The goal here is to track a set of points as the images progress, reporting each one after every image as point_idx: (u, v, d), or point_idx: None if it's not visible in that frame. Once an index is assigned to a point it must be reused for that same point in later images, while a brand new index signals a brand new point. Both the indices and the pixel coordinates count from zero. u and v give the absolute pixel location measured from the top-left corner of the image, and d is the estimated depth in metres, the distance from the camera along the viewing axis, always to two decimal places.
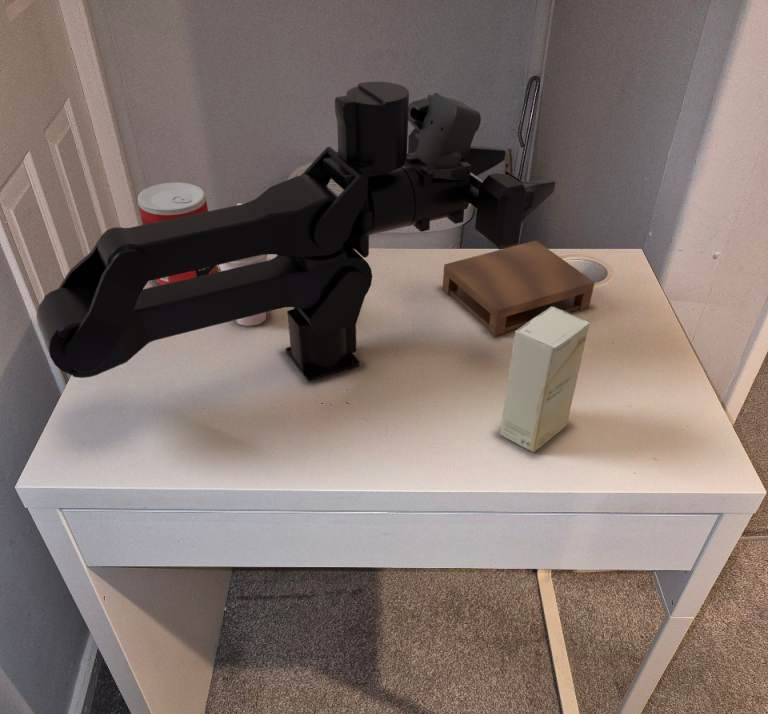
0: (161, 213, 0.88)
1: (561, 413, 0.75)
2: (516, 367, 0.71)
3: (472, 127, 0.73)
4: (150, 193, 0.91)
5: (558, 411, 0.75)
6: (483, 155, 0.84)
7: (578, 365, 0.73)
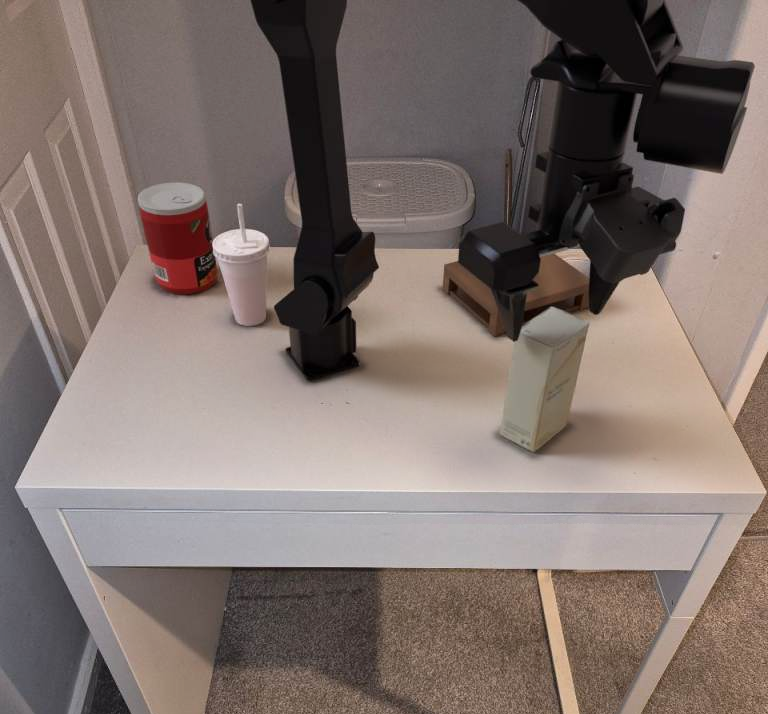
0: (161, 213, 0.88)
1: (561, 413, 0.75)
2: (516, 367, 0.71)
3: (601, 266, 0.58)
4: (150, 193, 0.91)
5: (558, 411, 0.75)
6: (602, 286, 0.68)
7: (578, 365, 0.73)
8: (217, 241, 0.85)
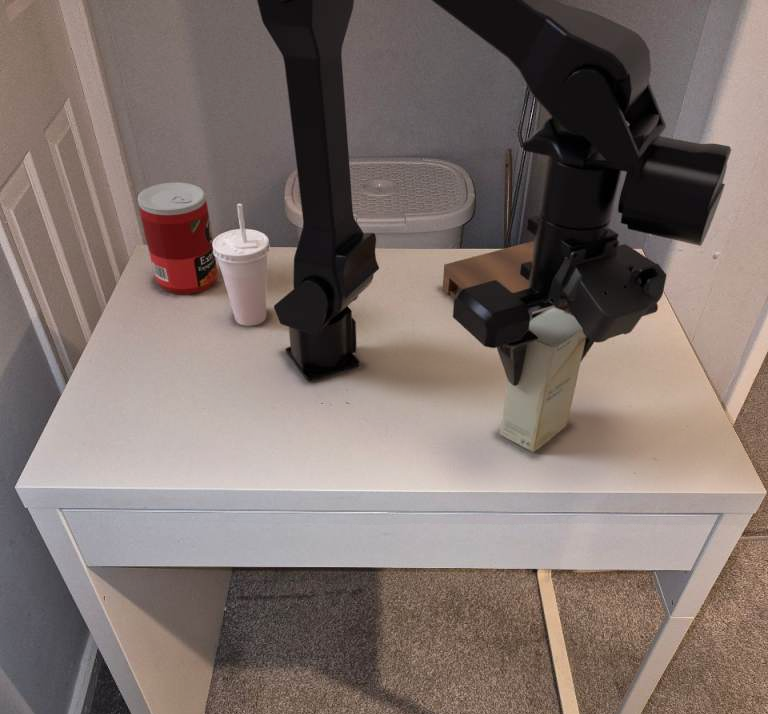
0: (161, 213, 0.88)
1: (561, 413, 0.75)
2: None
3: (587, 327, 0.61)
4: (150, 193, 0.91)
5: (558, 411, 0.75)
6: None
7: (578, 365, 0.73)
8: (217, 241, 0.85)
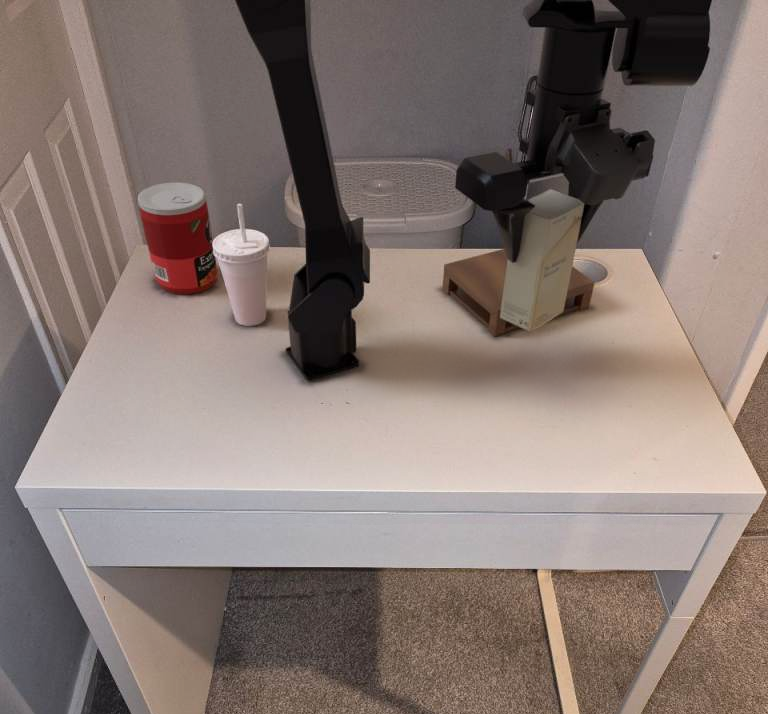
0: (161, 213, 0.88)
1: (558, 295, 0.79)
2: None
3: (580, 189, 0.65)
4: (150, 193, 0.91)
5: (555, 293, 0.79)
6: None
7: (574, 246, 0.77)
8: (217, 241, 0.85)
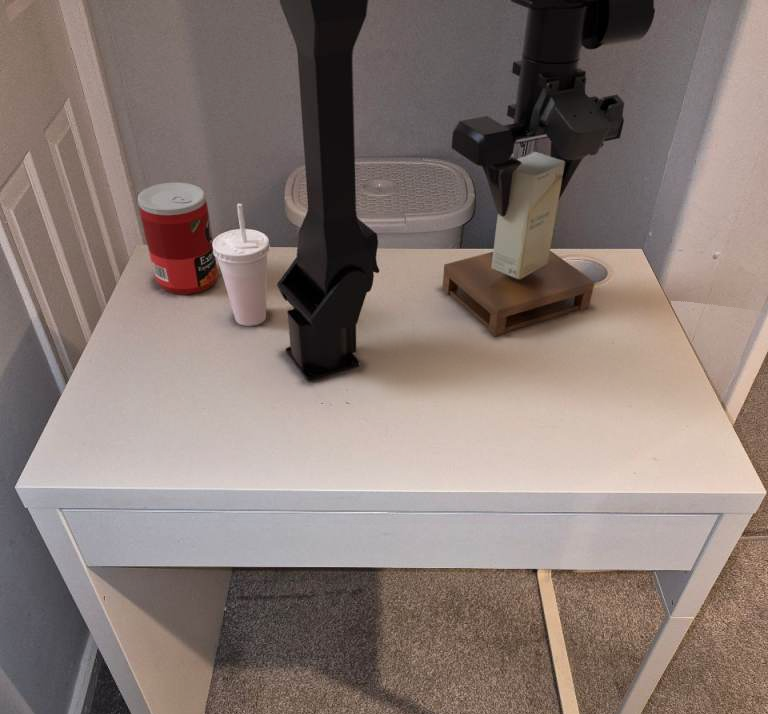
0: (161, 213, 0.88)
1: (542, 247, 0.90)
2: None
3: (560, 146, 0.76)
4: (150, 193, 0.91)
5: (540, 244, 0.89)
6: None
7: (556, 202, 0.87)
8: (217, 241, 0.85)
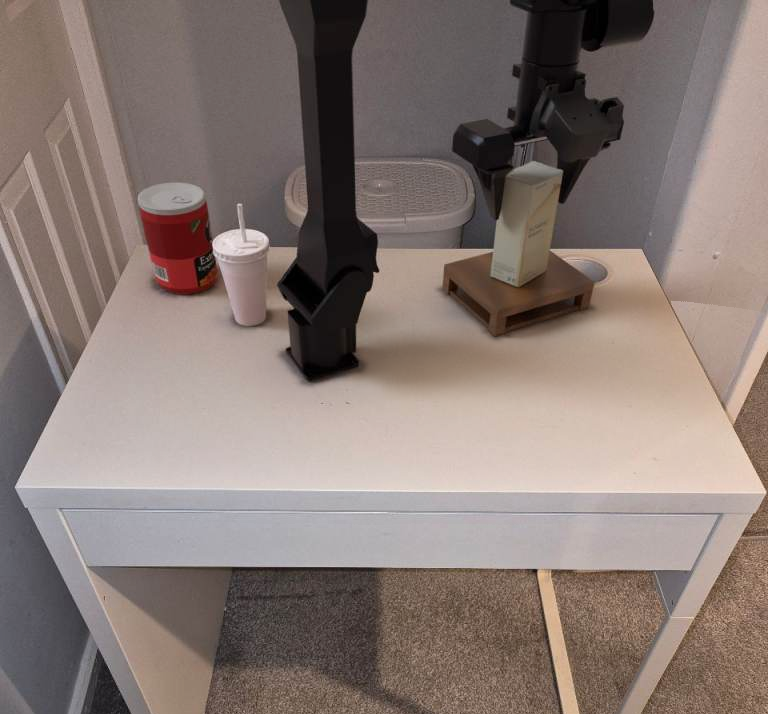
0: (161, 213, 0.88)
1: (541, 255, 0.90)
2: (503, 208, 0.86)
3: (560, 148, 0.76)
4: (150, 193, 0.91)
5: (539, 252, 0.90)
6: (566, 179, 0.87)
7: (554, 211, 0.88)
8: (217, 241, 0.85)
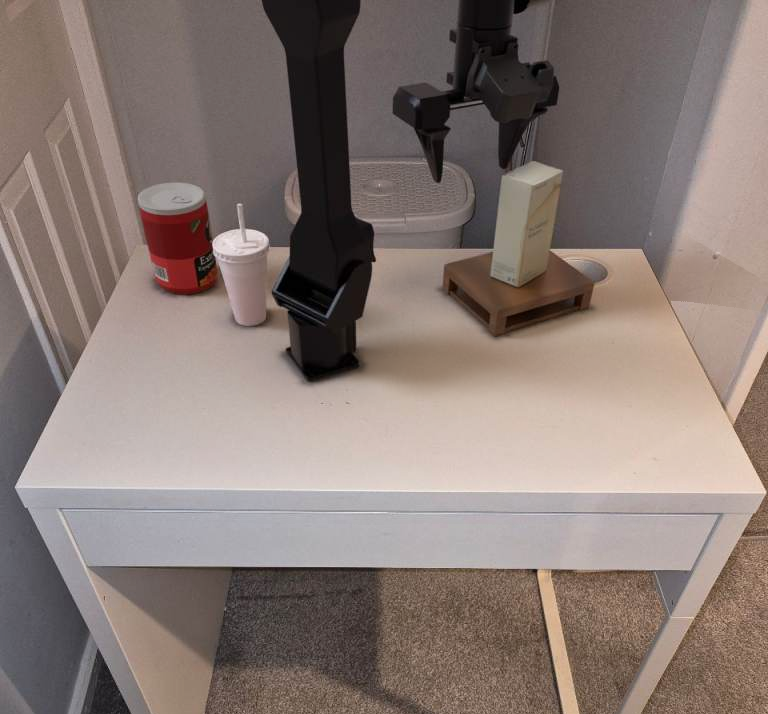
0: (161, 213, 0.88)
1: (541, 255, 0.90)
2: (503, 208, 0.86)
3: (492, 109, 0.79)
4: (150, 193, 0.91)
5: (539, 252, 0.90)
6: (507, 144, 0.90)
7: (554, 211, 0.88)
8: (217, 241, 0.85)
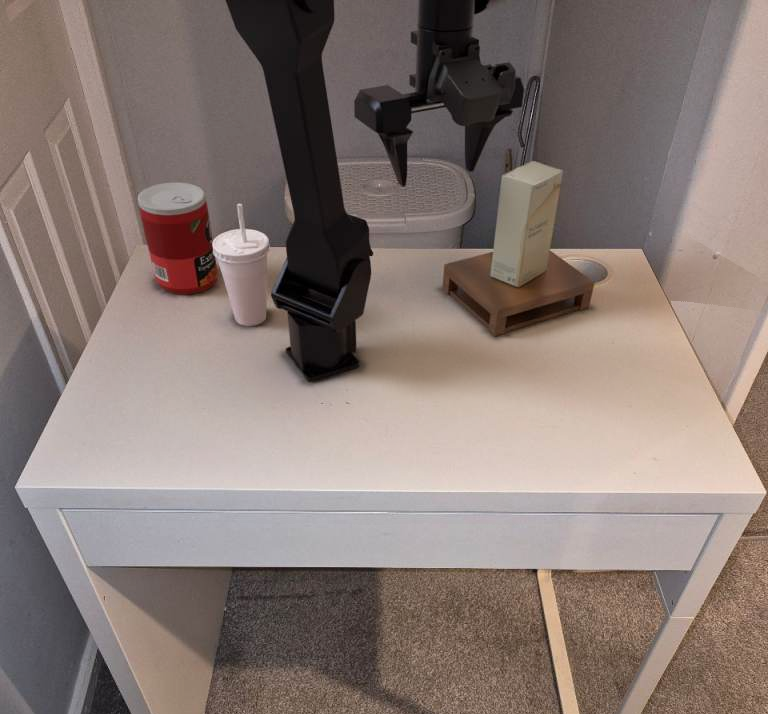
0: (161, 213, 0.88)
1: (541, 255, 0.90)
2: (503, 208, 0.86)
3: (454, 112, 0.78)
4: (150, 193, 0.91)
5: (539, 252, 0.90)
6: (473, 146, 0.88)
7: (554, 211, 0.88)
8: (217, 241, 0.85)
